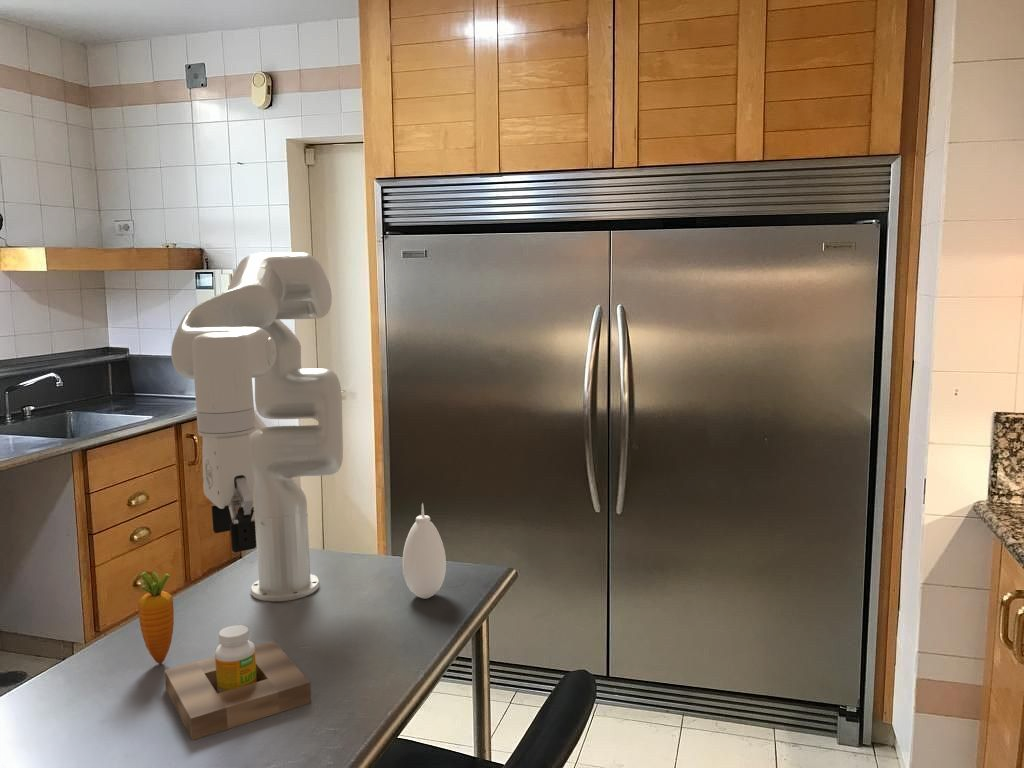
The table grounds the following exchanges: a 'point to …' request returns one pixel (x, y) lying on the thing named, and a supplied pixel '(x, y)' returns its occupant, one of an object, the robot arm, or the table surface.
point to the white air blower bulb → (424, 558)
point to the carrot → (156, 616)
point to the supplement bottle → (235, 659)
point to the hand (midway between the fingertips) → (234, 540)
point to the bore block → (235, 692)
